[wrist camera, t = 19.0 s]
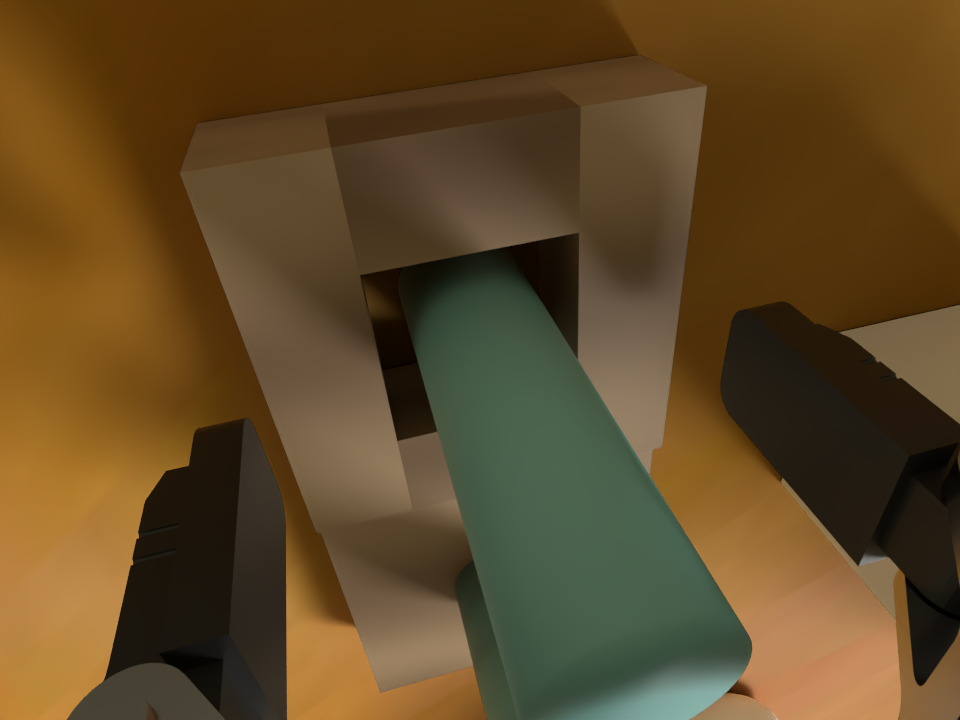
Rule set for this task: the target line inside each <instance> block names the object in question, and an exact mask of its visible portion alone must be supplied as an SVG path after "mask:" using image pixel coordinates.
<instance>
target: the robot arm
mask: <svg viewBox="0 0 960 720" xmlns="http://www.w3.org/2000/svg"><path fill="white" fill-rule="evenodd" d="M875 358H876V357H874V356H873V355H872V354H871V353H869V352H868V351H867V350H866V349H864V348H863V347H862V346H860V345H859V344H858V343H857V342H855V341H854V340H853V339H852V338H850V337H848V336H845V335H843V334H841V333H839V332H836V331H834V330H832V329H830V328H827V327H825V326H823V325H821V324H814V323H813V322H811V321H810V320H809V319H808V318H807V317H805V316H804V315H803V314H802V313H800V312H799V311H798V310H797V309H796V308H794V307H793V306H792V305H790V304H789V303H786V302H776V303H772V304H767V305H763V306H758V307H753V308H749V309H744V310H740V311H738V312H737V313H736V314H735V315H734V317H733V319H732V323H731V328H730V333H729V338H728V344H727V349H726V354H725V360H724V365H723V370H722V376H721V382H720V389H721V395H722V399H723V403H724V405H725V407H726V410H727V411H728V413H729V415H730V416H731V417H732V419H733V420H734V421H735V422H736V423H737V424H738V426H739V427H740V428H741V429H742V430H743V431H744V433H745V434H746V435H747V436H748V437H749V439H750V440H751V441H752V442H753V443H754V444H755V446H756V447H757V448H758V449H759V450H760V451H761V453H762V454H763V455H764V456H765V457H766V459H767V460H768V461H769V462H770V463H771V464H772V466H773V467H774V468H775V469H776V470H777V471H778V473H779V474H780V475H781V476H782V477H783V479H784V480H785V481H786V482H787V483H788V484H789V486H790V487H791V488H792V489H793V490H794V492H795V493H796V494H797V495H798V496H799V497H800V499H801V500H802V501H803V502H804V503H805V504H806V506H807V507H808V508H809V509H810V510H811V512H812V513H813V514H814V515H815V516H816V517H817V519H818V520H819V521H820V522H821V523H822V524H823V526H824V527H825V528H826V529H827V530H828V532H829V533H830V534H831V535H832V536H833V537H834V539H835V540H836V541H837V542H838V543H839V544H840V546H841V547H842V548H843V549H844V550H845V552H846V553H847V554H848V555H849V556H850V557H851V559H852V560H853V561H854V562H855V563H856V564H857V566H858V567H859V566H862V565H866V564H869V563H872V562H876V561H879V560H883V559H886V558H890V559H891V560H892V561H893V563H894V564H895V565H896V566H897V567H898V570H897V572H896V574H895V577H894V581H893V589H894V602H895V615H896V628H897V642H898V655H899V668H900V681H901V707H900V713H899V717H898V720H960V424H959V423H958V422H957V421H955V420H954V419H953V418H952V417H950V416H949V415H948V414H946V413H945V412H944V411H943V410H941V409H940V408H939V407H938V406H936V405H935V404H934V403H933V402H931V401H930V400H929V399H928V398H926V397H925V396H924V395H922V394H921V393H920V392H919V391H917V390H916V389H915V388H914V387H912V386H911V385H910V384H909V383H907V382H906V381H905V380H903V379H902V378H897V377H896V373H895V372H893V371H892V370H891V369H890V368H888V367H887V366H886V365H885V364H883V363H882V362H881V361H880V362H877V361H876V359H875ZM138 533H139V538H138V539H137V540H136V544H135V549H134V553H133V558H132V559H133V565H131V567H130V571H129V576H128V580H127V585H126V589H125V594H124V598H123V603H122V607H121V612H120V616H119V621H118V625H117V630H116V634H115V639H114V643H113V648H112V652H111V657H110V661H109V666H108V669H107V673H106V676H105V679H104V681H103V682H102V683H101V684H99V685H98V686H97V687H95V688H94V689H93V690H92V691H91V692H90V693H89V694H88V695H87V696H85V697H84V698H83V700H82V701H81V702H80V703H79V704H78V705H77V706H76V708H75V709H74V710H73V711H72V713H71V714H70V716H69V717H68V719H67V720H287V675H286V524H285V512H284V506H283V501H282V496H281V493H280V489H279V486H278V483H277V481H276V478H275V476H274V474H273V471H272V469H271V466H270V464H269V461H268V459H267V456H266V454H265V451H264V449H263V447H262V444H261V442H260V439H259V437H258V434H257V432H256V429H255V427H254V425H253V423H252V421H251V420H250V419H249V418H244V419H239V420H235V421H230V422H226V423H221V424H217V425H212V426H208V427H203V428H199V429H197V430H196V431H195V433H194V437H193V443H192V450H191V456H190V462H189V466H186V467H182V468H177V469H173V470H169V471H166V472H165V473H164V475H163V476H162V478H161V479H160V480H159V482H158V483H157V485H156V486H155V488H154V489H153V491H152V492H151V493H150V495H149V496H148V498H147V499H146V501H145V504H144V508H143V513H142V517H141V522H140V526H139V531H138Z"/></svg>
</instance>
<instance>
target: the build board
mask: <svg viewBox="0 0 960 720" xmlns="http://www.w3.org/2000/svg"><path fill="white" fill-rule="evenodd" d="M706 92H707V85H704V84H702V83H700V82H698V81H696V80H694V79H691V78H689V77H687V76H685V75H683V74H681V73H679V72H676V71H674V70H672V69H670V68H668V67H666V66H664V65H661V64H659V63H657V62H655V61H653V60H651V59H649V58H646V57H644V56H642V55H635V56H629V57H622V58H616V59H609V60H603V61H597V62H590V63H584V64H577V65H571V66H564V67H558V68H551V69H545V70H538V71H532V72H525V73H519V74H512V75H506V76H499V77H493V78H487V79H480V80H474V81H467V82H461V83H454V84H448V85H441V86H435V87H428V88H422V89H415V90H409V91H402V92H396V93H390V94H383V95H377V96H370V97H364V98H357V99H351V100H344V101H338V102H331V103H325V104H318V105H312V106H305V107H299V108H292V109H286V110H280V111H273V112H267V113H260V114H254V115H247V116H241V117H234V118H228V119H221V120H215V121H208V122H202V123H197V125H196V128H195V131H194V134H193V136H192V139H191V142H190V145H189V148H188V150H187V153H186V156H185V159H184V161H183V164H182V167H181V170H180V176H181V178H182V181H183V183H184V186H185V189H186V191H187V194H188V197H189V199H190V202H191V204H192V207H193V210H194V212H195V215H196V218H197V220H198V223H199V226H200V228H201V231H202V233H203V236H204V239H205V241H206V244H207V247H208V249H209V252H210V254H211V257H212V260H213V262H214V265H215V268H216V270H217V273H218V276H219V278H220V281H221V283H222V286H223V289H224V291H225V294H226V297H227V299H228V302H229V304H230V307H231V310H232V312H233V315H234V318H235V320H236V323H237V326H238V328H239V331H240V333H241V336H242V339H243V341H244V344H245V347H246V349H247V352H248V355H249V357H250V360H251V362H252V365H253V368H254V370H255V373H256V376H257V378H258V381H259V383H260V386H261V389H262V391H263V394H264V397H265V399H266V402H267V405H268V407H269V410H270V412H271V415H272V418H273V420H274V423H275V426H276V428H277V431H278V433H279V436H280V439H281V441H282V444H283V447H284V449H285V452H286V455H287V457H288V460H289V462H290V465H291V468H292V470H293V473H294V476H295V478H296V481H297V483H298V486H299V489H300V491H301V494H302V497H303V499H304V502H305V505H306V507H307V510H308V512H309V515H310V518H311V520H312V523H313V526H314V528H315V531H316V533H321V532H325V531H329V530H333V529H337V528H341V527H345V526H349V525H353V524H357V523H361V522H365V521H369V520H373V519H377V518H381V517H385V516H389V515H393V514H397V513H401V512H405V511H409V510H413V509H417V508H421V507H425V506H429V505H433V504H437V503H441V502H445V501H449V500H453V499H456V496H455V492H454V489H453V485H452V482H451V478H450V474H449V471H448V467H447V464H446V460H445V457H444V453H443V449H442V446H441V442H440V439H439V435H438V432H437V428H436V424H435V421H434V417H433V414H432V410H431V407H430V403H429V400H428V396H427V392H426V389H425V385H424V382H423V378H422V375H421V371H420V367H419V364H418V363H414V364H410V365H405V366H401V367H396V368H391V369H387V370H382V366H381V362H380V358H379V353H378V349H377V344H376V340H375V335H374V331H373V326H372V322H371V318H370V313H369V309H368V304H367V300H366V295H365V291H364V286H363V282H362V278H361V275H363V274H368V273H374V272H379V271H384V270H389V269H394V268H399V267H404V266H410V265H415V264H420V263H425V262H430V261H435V260H441V259H446V258H451V257H456V256H461V255H466V254H471V253H477V252H482V251H487V250H492V249H497V248H502V247H507V246H513V245H518V244H523V243H528V242H533V241H538V260H539V291H540V300H541V301H542V303H543V305H544V306H545V308H546V309H547V311H548V313H549V314H550V316H551V317H552V319H553V321H554V322H555V324H556V326H557V327H558V329H559V330H560V332H561V334H562V335H563V337H564V338H565V340H566V342H567V343H568V345H569V346H570V348H571V350H572V351H573V353H574V355H575V356H576V358H577V359H578V361H579V363H580V364H581V366H582V367H583V369H584V371H585V372H586V374H587V375H588V377H589V379H590V380H591V382H592V384H593V385H594V387H595V388H596V390H597V392H598V393H599V395H600V396H601V398H602V400H603V401H604V403H605V405H606V406H607V408H608V409H609V411H610V413H611V414H612V416H613V417H614V419H615V421H616V422H617V424H618V425H619V427H620V429H621V430H622V432H623V434H624V435H625V437H626V438H627V440H628V442H629V443H630V445H631V446H632V448H633V450H634V451H635V453H636V454H637V453H641V452H645V451H649V450H653V449H657V448H661V447H662V444H663V436H664V428H665V420H666V412H667V404H668V396H669V388H670V380H671V372H672V364H673V356H674V348H675V340H676V332H677V324H678V316H679V308H680V300H681V292H682V284H683V276H684V268H685V260H686V252H687V244H688V236H689V228H690V220H691V212H692V204H693V196H694V188H695V180H696V172H697V164H698V156H699V148H700V140H701V132H702V124H703V116H704V108H705V100H706Z"/></svg>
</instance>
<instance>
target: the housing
mask: <svg viewBox="0 0 960 720" xmlns="http://www.w3.org/2000/svg"><path fill="white" fill-rule="evenodd" d="M839 333H841V334H843V335H845V336H848V337H850V338H852V339H853V340H854V341H855V342H857V343H858V344H859V345H860V346H862V347H863V348H864V349H866V350H867V351H868V352H869V353H871V354H872V355H873V356H874V357H876V358H875V359H876V361H877V362H880V361H881V362H882V363H883V364H885V365H886V366H887V367H888V368H890V369H891V370H892V371H893V372H895V373H896V377H897V378H902V379H903V380H905V381H906V382H907V383H909V384H910V385H911V386H912V387H914V388H915V389H916V390H917V391H919V392H920V393H921V394H922V395H924V396H925V397H926V398H928V399H929V400H930V401H931V402H933V403H934V404H935V405H936V406H938V407H939V408H940V409H941V410H943V411H944V412H945V413H946V414H948V415H949V416H950V417H952V418H953V419H954V420H955V421H957V422H958V423H959V424H960V305H957V306H952V307H948V308H944V309H939V310H935V311H930V312H926V313H922V314H917V315H913V316H909V317H904V318H900V319H895V320H891V321H887V322H882V323H878V324H873V325H869V326H865V327H860V328H856V329H851V330H847V331H843V332H839ZM781 484H782V485H783V486H784V487H785V489H786V490H787V491H788V492H789V493H790V495H791V496H792V497H793V498H794V499H795V501H796V502H797V503H798V504H799V505H800V507H801V508H802V509H803V510H804V511H805V513H806V514H807V515H808V516H809V517H810V518H811V520H812V521H813V522H814V523H815V524H816V526H817V527H818V528H819V529H820V530H821V532H822V533H823V534H824V535H825V536H826V538H827V539H828V540H829V541H830V542H831V544H832V545H833V546H834V547H835V548H836V550H837V551H838V552H839V553H840V554H841V555H842V557H843V558H844V559H845V560H846V561H847V563H848V564H849V565H850V566H851V567H852V569H853V570H854V571H855V572H856V573H857V575H858V576H859V577H860V578H861V579H862V581H863V582H864V583H865V584H866V585H867V586H868V588H869V589H870V590H871V591H872V592H873V594H874V595H875V596H876V597H877V598H878V600H879V601H880V602H881V603H882V604H883V606H884V607H885V608H886V609H887V610H888V612H889V613H890V614H891V615H892V616H893V617H894V619H895V620H896V615H895V602H894V589H893V581H894V577H895V574H896V572H897V570H898V567H897V566H896V565H895V564H894V563H893V561H892V560H891V559H890V558H886V559H883V560H879V561H876V562H872V563H869V564H866V565H862V566H859V567H858V566H857V564H856V563H855V562H854V561H853V560H852V559H851V557H850V556H849V555H848V554H847V553H846V552H845V550H844V549H843V548H842V547H841V546H840V544H839V543H838V542H837V541H836V540H835V539H834V537H833V536H832V535H831V534H830V533H829V532H828V530H827V529H826V528H825V527H824V526H823V524H822V523H821V522H820V521H819V520H818V519H817V517H816V516H815V515H814V514H813V513H812V512H811V510H810V509H809V508H808V507H807V506H806V504H805V503H804V502H803V501H802V500H801V499H800V497H799V496H798V495H797V494H796V493H795V492H794V490H793V489H792V488H791V487H790V486H789V484H788V483H787V482H786V481H785V480H784V479H783V477H782V481H781Z"/></svg>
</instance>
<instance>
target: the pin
mask: <svg viewBox="0 0 960 720" xmlns="http://www.w3.org/2000/svg"><path fill="white" fill-rule="evenodd" d="M399 295H400V300H401V303H402V307H403V310H404V314H405V318H406V321H407V325H408V328H409V332H410V335H411V339H412V343H413V346H414V350H415V353H416V357H417V360H418V364H419V367H420V371H421V375H422V378H423V382H424V385H425V389H426V392H427V396H428V400H429V403H430V407H431V410H432V414H433V417H434V421H435V424H436V428H437V432H438V435H439V439H440V442H441V446H442V449H443V453H444V457H445V460H446V464H447V467H448V471H449V474H450V478H451V482H452V485H453V489H454V492H455V496H456V499H457V503H458V506H459V510H460V514H461V517H462V521H463V524H464V528H465V531H466V535H467V539H468V542H469V546H470V549H471V553H472V556H473V560H474V563H475V567H476V571H477V574H478V578H479V581H480V585H481V588H482V592H483V596H484V599H485V603H486V606H487V610H488V613H489V617H490V621H491V624H492V628H493V631H494V635H495V638H496V642H497V645H498V649H499V653H500V656H501V660H502V663H503V667H504V670H505V674H506V678H507V681H508V685H509V688H510V692H511V695H512V699H513V702H514V706H515V710H516V713H517V717H518V720H689V719H691V718H692V717H694V716H696V715H697V714H699V713H700V712H702V711H703V710H705V709H706V708H708V707H709V706H710V705H712V704H713V703H714V702H715V701H717V700H718V699H719V698H720V697H722V696H723V695H724V694H725V693H726V692H727V691H728V690H729V689H730V688H731V687H732V686H733V685H734V684H735V683H736V682H737V680H738V679H739V678H740V676H741V675H742V674H743V672H744V671H745V669H746V667H747V665H748V663H749V660H750V658H751V653H752V642H751V640H750V637H749V635H748V633H747V632H746V630H745V629H744V627H743V625H742V624H741V622H740V620H739V619H738V617H737V616H736V614H735V612H734V611H733V609H732V608H731V606H730V604H729V603H728V601H727V599H726V598H725V596H724V595H723V593H722V591H721V590H720V588H719V587H718V585H717V583H716V582H715V580H714V579H713V577H712V575H711V574H710V572H709V570H708V569H707V567H706V566H705V564H704V562H703V561H702V559H701V558H700V556H699V554H698V553H697V551H696V550H695V548H694V546H693V545H692V543H691V541H690V540H689V538H688V537H687V535H686V533H685V532H684V530H683V529H682V527H681V525H680V524H679V522H678V521H677V519H676V517H675V516H674V514H673V512H672V511H671V509H670V508H669V506H668V504H667V503H666V501H665V500H664V498H663V496H662V495H661V493H660V492H659V490H658V488H657V487H656V485H655V483H654V482H653V480H652V479H651V477H650V475H649V474H648V472H647V471H646V469H645V467H644V466H643V464H642V463H641V461H640V459H639V458H638V456H637V454H636V453H635V451H634V450H633V448H632V446H631V445H630V443H629V442H628V440H627V438H626V437H625V435H624V434H623V432H622V430H621V429H620V427H619V425H618V424H617V422H616V421H615V419H614V417H613V416H612V414H611V413H610V411H609V409H608V408H607V406H606V405H605V403H604V401H603V400H602V398H601V396H600V395H599V393H598V392H597V390H596V388H595V387H594V385H593V384H592V382H591V380H590V379H589V377H588V375H587V374H586V372H585V371H584V369H583V367H582V366H581V364H580V363H579V361H578V359H577V358H576V356H575V355H574V353H573V351H572V350H571V348H570V346H569V345H568V343H567V342H566V340H565V338H564V337H563V335H562V334H561V332H560V330H559V329H558V327H557V326H556V324H555V322H554V321H553V319H552V317H551V316H550V314H549V313H548V311H547V309H546V308H545V306H544V305H543V303H542V301H541V300H540V298H539V297H538V295H537V293H536V292H535V290H534V288H533V287H532V285H531V284H530V282H529V280H528V279H527V277H526V276H525V274H524V272H523V271H522V269H521V268H520V266H519V264H518V263H517V261H516V259H515V258H514V256H513V255H512V253H511V251H510V250H509V249H508V247H502V248H497V249H492V250H487V251H482V252H477V253H471V254H466V255H461V256H456V257H451V258H446V259H441V260H435V261H430V262H425V263H420V264H415V265H410V266H404V267H402V270H401V273H400V277H399Z"/></svg>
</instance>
